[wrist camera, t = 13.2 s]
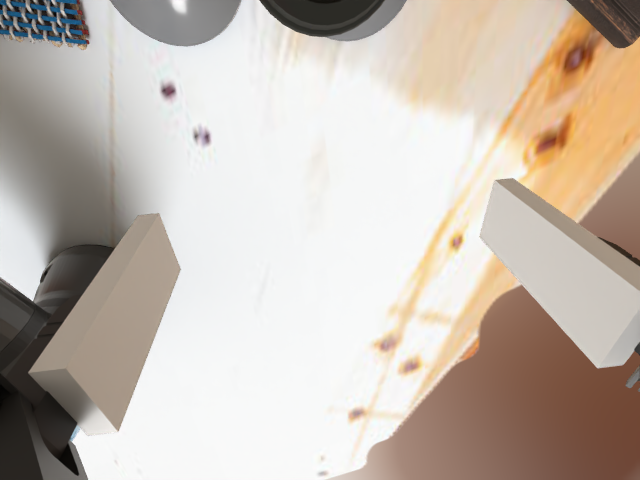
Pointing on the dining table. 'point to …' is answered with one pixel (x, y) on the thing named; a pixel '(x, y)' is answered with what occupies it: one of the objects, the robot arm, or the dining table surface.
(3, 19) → the woven mat
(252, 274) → the dining table surface
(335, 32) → the coffee cup
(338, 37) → the dish low side
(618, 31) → the hardcover book
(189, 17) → the grey flat disc
